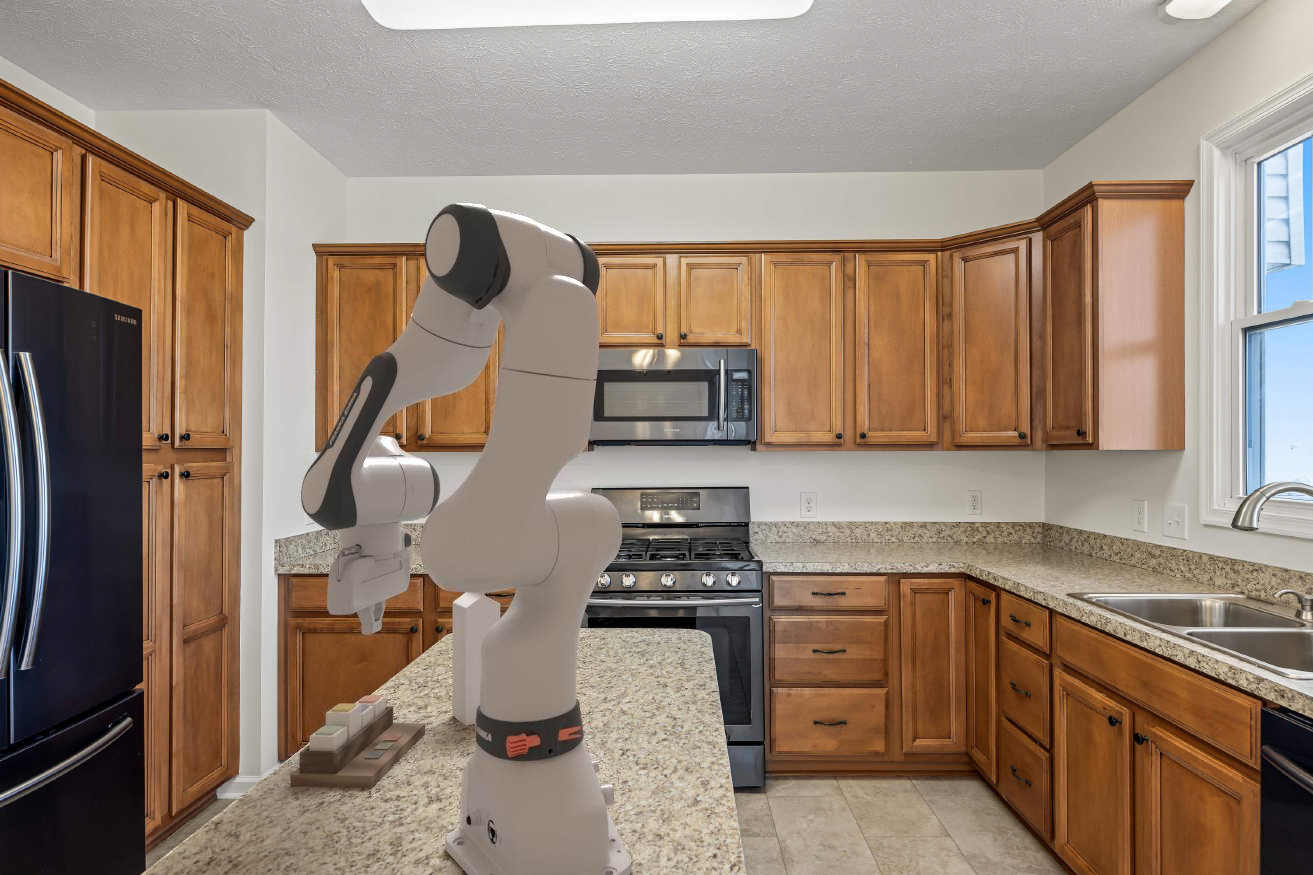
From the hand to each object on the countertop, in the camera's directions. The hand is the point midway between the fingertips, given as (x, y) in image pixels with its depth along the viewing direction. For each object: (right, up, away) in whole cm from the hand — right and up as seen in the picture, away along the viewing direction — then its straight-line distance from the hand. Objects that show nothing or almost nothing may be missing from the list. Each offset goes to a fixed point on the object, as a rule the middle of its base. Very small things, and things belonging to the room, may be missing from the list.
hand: (371, 632), depth 106 cm
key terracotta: (0, -14, 0) cm, 14 cm away
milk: (+14, -17, +9) cm, 23 cm away
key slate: (0, -14, -4) cm, 15 cm away
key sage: (-1, -14, -12) cm, 18 cm away
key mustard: (-1, -12, -8) cm, 15 cm away
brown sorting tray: (+1, -16, -6) cm, 17 cm away
